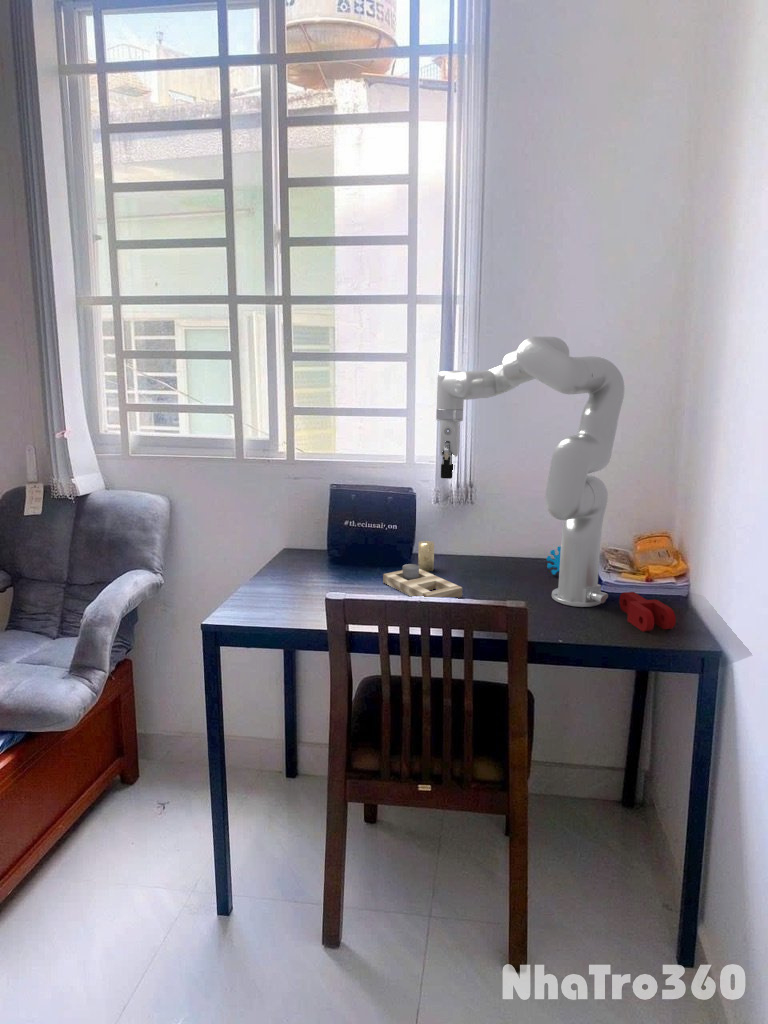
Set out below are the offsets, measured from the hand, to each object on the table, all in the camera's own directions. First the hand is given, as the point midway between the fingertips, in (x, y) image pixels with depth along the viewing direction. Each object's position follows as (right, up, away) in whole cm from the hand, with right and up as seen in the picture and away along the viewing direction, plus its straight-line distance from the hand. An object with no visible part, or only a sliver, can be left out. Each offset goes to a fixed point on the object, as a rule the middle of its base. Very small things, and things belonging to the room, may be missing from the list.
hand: (447, 474), depth 211 cm
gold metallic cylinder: (-6, -27, -2) cm, 28 cm away
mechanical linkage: (+42, -36, -38) cm, 67 cm away
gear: (+33, -29, -6) cm, 44 cm away
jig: (-8, -31, -18) cm, 37 cm away
